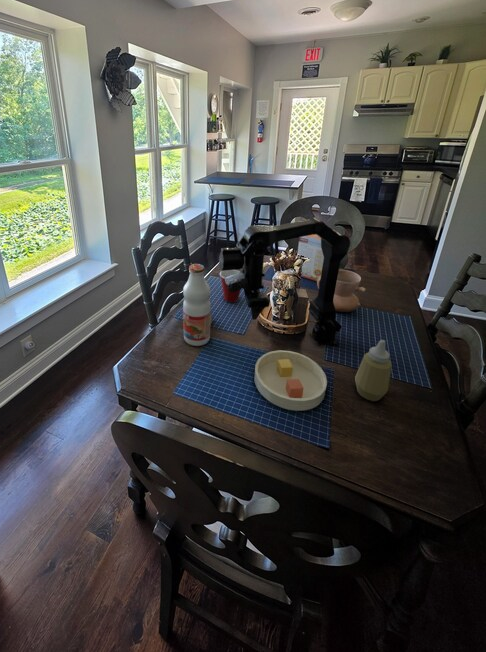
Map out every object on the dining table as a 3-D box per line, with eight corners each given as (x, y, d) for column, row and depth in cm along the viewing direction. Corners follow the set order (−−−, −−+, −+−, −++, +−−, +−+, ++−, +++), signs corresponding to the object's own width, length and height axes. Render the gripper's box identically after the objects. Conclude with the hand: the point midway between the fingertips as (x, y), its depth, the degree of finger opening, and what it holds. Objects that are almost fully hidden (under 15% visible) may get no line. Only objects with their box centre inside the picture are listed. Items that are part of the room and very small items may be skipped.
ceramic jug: (366, 306, 131) (373, 275, 125) (353, 321, 121) (360, 288, 116) (322, 291, 142) (327, 262, 137) (307, 304, 133) (312, 273, 127)
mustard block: (287, 368, 99) (289, 359, 97) (291, 376, 95) (293, 367, 94) (276, 368, 99) (277, 359, 97) (280, 376, 95) (281, 367, 94)
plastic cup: (248, 296, 140) (249, 271, 135) (237, 307, 131) (239, 281, 127) (225, 290, 145) (226, 266, 141) (214, 300, 137) (214, 275, 132)
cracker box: (327, 279, 153) (334, 238, 145) (322, 283, 149) (329, 241, 141) (299, 270, 162) (305, 231, 154) (294, 274, 158) (299, 234, 150)
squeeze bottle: (384, 409, 85) (400, 355, 78) (350, 397, 89) (363, 344, 82) (385, 389, 91) (401, 337, 84) (354, 378, 95) (366, 328, 88)
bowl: (308, 358, 103) (309, 348, 101) (337, 410, 85) (340, 398, 83) (247, 361, 102) (248, 351, 101) (264, 414, 84) (265, 402, 82)
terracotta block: (297, 388, 91) (298, 378, 90) (302, 397, 88) (303, 388, 87) (285, 388, 91) (286, 379, 90) (289, 398, 88) (291, 388, 87)
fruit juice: (215, 340, 112) (217, 268, 101) (193, 350, 108) (192, 275, 97) (200, 327, 120) (200, 258, 109) (178, 335, 115) (176, 265, 104)
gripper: (223, 256, 106) (222, 297, 112) (232, 283, 89) (230, 329, 95) (256, 255, 106) (254, 296, 112) (272, 281, 89) (267, 328, 95)
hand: (250, 311), depth 104 cm, fingers open, 9 cm apart
